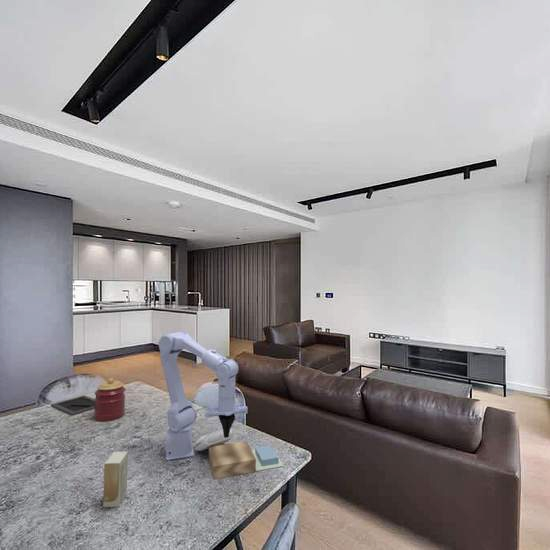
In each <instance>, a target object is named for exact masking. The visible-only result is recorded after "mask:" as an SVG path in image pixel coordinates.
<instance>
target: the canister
mask: <svg viewBox="0 0 550 550" xmlns="http://www.w3.org/2000/svg"><path fill="white" fill-rule="evenodd" d="M96 388H97V389H96V390H95V391H94V395H95V398H94V399H95V400H94V401H95V409H93V410H94V412H93V417H94V420H95V421H98V422H109V421H115V420H117V419H121V418H122V417H124V415H125V412H126V411H125V410H126V405H125V403H126V394H125V391H126V387H125V383H123V382H122V381H120V380H115V378H113V377H110V378H108V379H107V381H104V382H101V383H100V384H98V385H97V386H96Z"/></svg>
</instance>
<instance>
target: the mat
mask: <svg viewBox="0 0 550 550" xmlns="http://www.w3.org/2000/svg"><path fill="white" fill-rule="evenodd" d="M273 450H274V448H273ZM251 451H252V453H253V455H254V457H255V459H256V472H260V471H267V470H273V469H278V468H284V467H285V466H284V464H283V462H282V460H281V459H280V457H279V456H278V464H272V465H266V466H261V464H260V462H259V460H258V458H257V456H256V454H255V449H253V450H252V449H251ZM274 451H275V450H274Z"/></svg>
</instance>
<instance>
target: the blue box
mask: <svg viewBox="0 0 550 550" xmlns="http://www.w3.org/2000/svg"><path fill="white" fill-rule="evenodd" d="M273 449H274V447H272V445H271V444H270V445H269V444H268V445H263V446H262V445H261V446H255V448H254V450H255V454H256V456H257V458H258V460H259V462H260V464H261V466H266V465H272V464H278V457H279V456H278V454H277V452H276V451H275V450H273Z"/></svg>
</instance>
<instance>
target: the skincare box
mask: <svg viewBox="0 0 550 550" xmlns="http://www.w3.org/2000/svg"><path fill="white" fill-rule="evenodd" d="M128 458H129V451H113V452H112V453H111V454H110V456H109V457H107V459H106V461H105V462H104V467H103V468H104V469H103V473H104V474H103V501H102V502H103V503H102V505H103V506H102V507H103V508H119V507H120V505H121V503H122V502H123V500H124V498H125V497H126V496H127V495H126V494H127V493H128V467H129V465H128V464H129V462H128V461H129V459H128Z"/></svg>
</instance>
